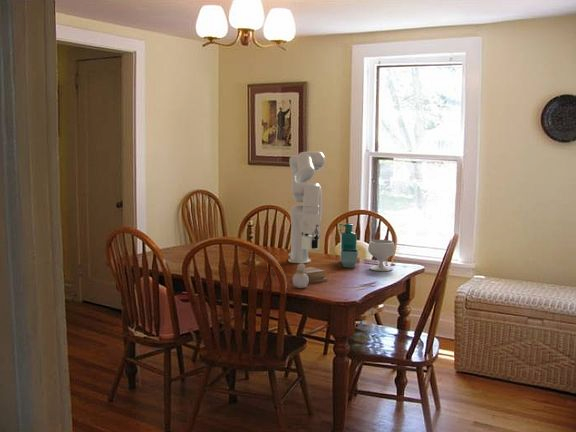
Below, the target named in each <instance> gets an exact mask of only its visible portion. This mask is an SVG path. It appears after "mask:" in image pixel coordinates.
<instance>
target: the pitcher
mask: <svg viewBox="0 0 576 432" xmlns="http://www.w3.org/2000/svg"><path fill="white" fill-rule="evenodd" d="M341 226H343V227H345V230H343V231H342V230H341ZM353 226H355V224H354V223H349V222H348V223H344V224H343V223H342V222H338V229H339V231H340V232H339V233H340V248H339V249H340V253H339V254H340V256H339V258H340V259H339V261H340V264H342V261H341V250H342V249H356V250H358V248H357V247H358V246H357V245H358V244H357V243H358V241H357V240H358V236H357V233H356V232H355V231H354V230H353Z"/></svg>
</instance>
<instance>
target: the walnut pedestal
mask: <svg viewBox="0 0 576 432" xmlns="http://www.w3.org/2000/svg"><path fill="white" fill-rule="evenodd" d="M294 270H295V273H294V275H295V274H296V273H297V271H298V268H295V269H294ZM304 273H305V274H306V275H307V276H308V278H309V282H308V285H309V284H316V283H323V282H328V278H326V277H325V270H324V269H320V268H316V267H313V266H311V267H305V270H304ZM291 278H292V279H293V276H292V277H291ZM292 279H291V280H292Z"/></svg>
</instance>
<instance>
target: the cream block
mask: <svg viewBox="0 0 576 432" xmlns="http://www.w3.org/2000/svg"><path fill="white" fill-rule="evenodd" d="M315 236H316V235H314V237H315ZM312 240H313V239H312V234H309V235H307V236H302V249H306V250H308V251H313V250H315V251H316V250H319V249H320V239H319V240H318V248H314V249H312Z"/></svg>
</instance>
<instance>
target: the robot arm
mask: <svg viewBox="0 0 576 432" xmlns="http://www.w3.org/2000/svg"><path fill="white" fill-rule="evenodd" d="M288 161H289V168H290V171H291V175H292V177H291V180H290V181H291V182H290V187H291V194H292V196H293V201H294V202H295V203H302V204H295V205H293V206H292V207H290V209H289V210H290V211H289V215H290V222H291V224H290V227H291V228H290V229H291V234H290V235H291V236H290V237H291V241H290V246H291V247H290V250H291V251H290V252H288V256H290V257H289V258H288V259H287V260H288V262H289V263H292V264H300V262H301V263H302V264H308V263H310V262H311V261H312V259H311V258H309V250H306V249H302V236H307V235H312V239H313V240H312V249H314V248H318V240H319V241H320V237H321V235H322V233H323V232H321V220H322V217H323V216H322V215H323V191H322V186H321V185H320V183H318V182H310V180H312V179H313V178H314V177H315V175H316V172H319V171H322V169H324V167H325V165H326V158H325V155H324V153H323V152H321V151H302V152H299V154H293V155H291V156H290V157H289V160H288ZM314 236H315V237H314Z"/></svg>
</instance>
